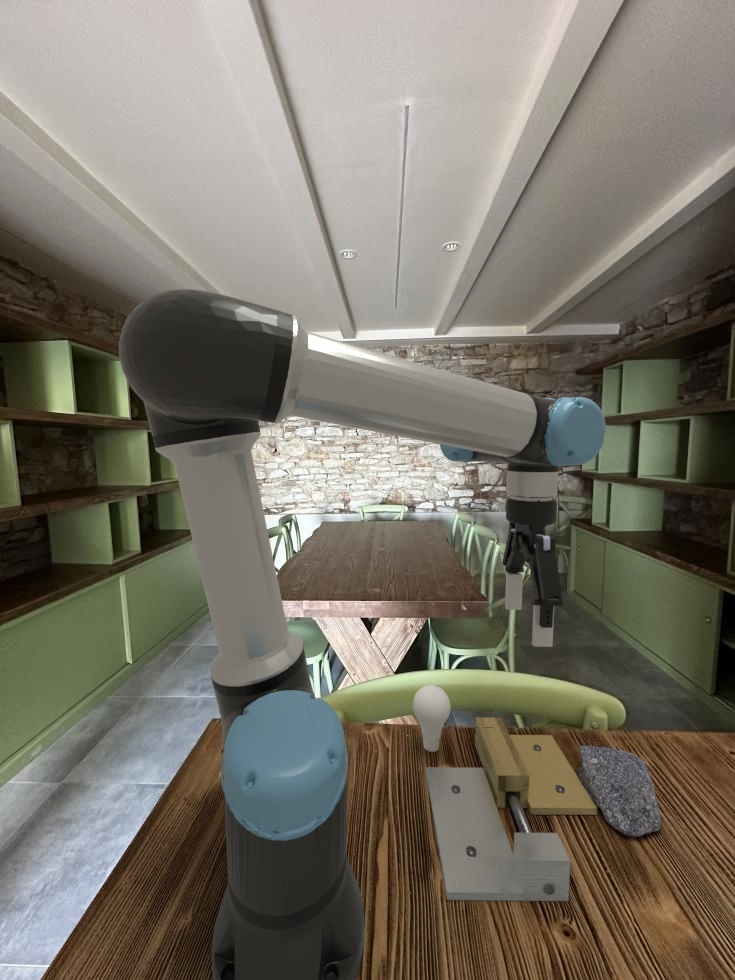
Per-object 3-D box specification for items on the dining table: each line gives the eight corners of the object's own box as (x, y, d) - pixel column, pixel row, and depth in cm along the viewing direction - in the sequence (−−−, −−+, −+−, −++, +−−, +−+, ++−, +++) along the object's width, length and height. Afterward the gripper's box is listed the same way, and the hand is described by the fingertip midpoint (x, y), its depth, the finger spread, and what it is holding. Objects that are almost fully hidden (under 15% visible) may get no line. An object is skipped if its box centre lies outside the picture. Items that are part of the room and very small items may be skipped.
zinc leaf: (446, 900, 45) (447, 859, 44) (420, 742, 69) (420, 715, 68) (568, 901, 45) (570, 860, 44) (499, 742, 68) (500, 715, 68)
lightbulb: (434, 771, 63) (435, 704, 61) (404, 749, 67) (405, 687, 66) (457, 751, 67) (458, 688, 65) (428, 732, 71) (429, 673, 70)
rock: (569, 742, 63) (635, 737, 62) (570, 772, 64) (636, 768, 63) (611, 815, 51) (693, 810, 50) (612, 851, 52) (693, 846, 51)
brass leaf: (499, 814, 55) (500, 781, 55) (473, 740, 69) (474, 713, 68) (596, 814, 55) (598, 781, 54) (551, 740, 69) (552, 713, 68)
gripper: (596, 509, 51) (587, 666, 54) (527, 489, 76) (523, 597, 79) (536, 509, 52) (529, 665, 54) (487, 489, 77) (484, 596, 79)
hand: (526, 625), depth 66 cm, fingers open, 13 cm apart
